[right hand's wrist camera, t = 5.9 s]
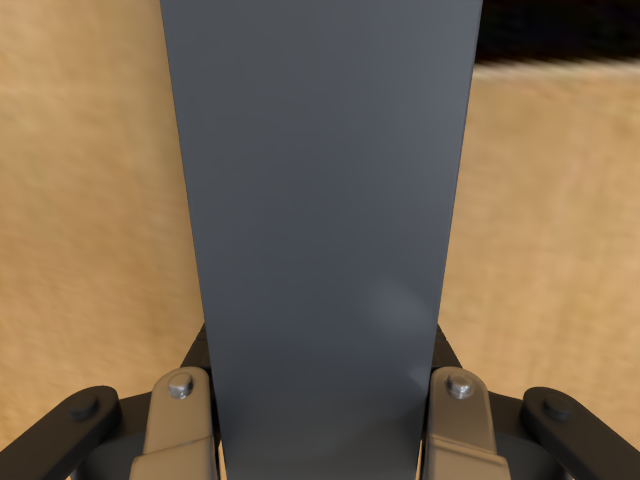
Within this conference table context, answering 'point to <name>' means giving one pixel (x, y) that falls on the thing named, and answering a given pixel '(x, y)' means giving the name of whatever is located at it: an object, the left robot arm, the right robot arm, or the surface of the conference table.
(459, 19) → the post
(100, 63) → the conference table surface
